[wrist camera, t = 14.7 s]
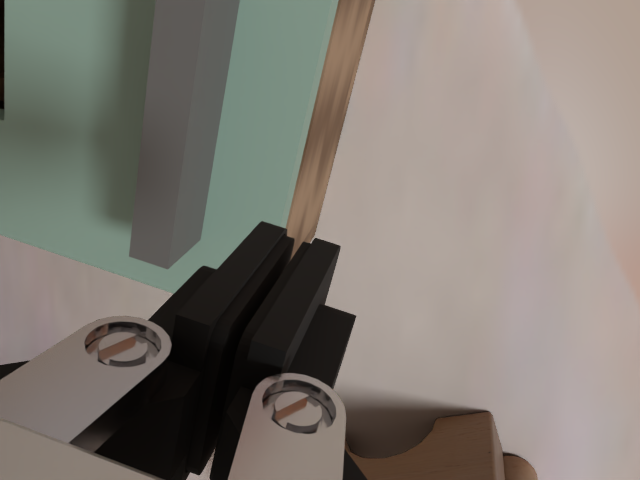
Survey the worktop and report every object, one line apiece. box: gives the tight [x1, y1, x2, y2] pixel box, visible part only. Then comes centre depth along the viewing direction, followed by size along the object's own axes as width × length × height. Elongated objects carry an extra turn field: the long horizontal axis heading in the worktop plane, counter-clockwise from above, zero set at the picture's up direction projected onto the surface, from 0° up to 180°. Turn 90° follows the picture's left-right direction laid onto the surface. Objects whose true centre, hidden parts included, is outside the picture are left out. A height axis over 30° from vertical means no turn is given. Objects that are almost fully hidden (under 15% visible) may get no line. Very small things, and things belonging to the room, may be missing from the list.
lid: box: [0, 0, 339, 293], centre depth 22 cm, size 16×20×4 cm
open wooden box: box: [0, 0, 375, 260], centre depth 28 cm, size 16×20×9 cm
